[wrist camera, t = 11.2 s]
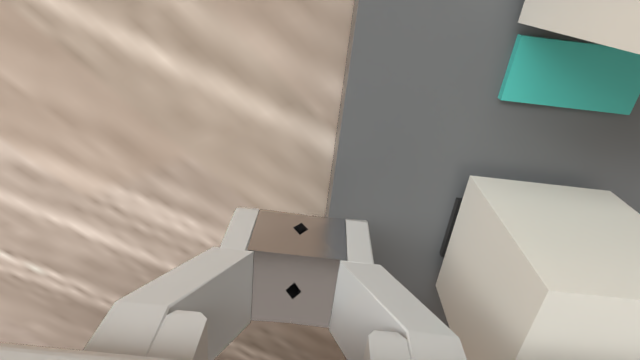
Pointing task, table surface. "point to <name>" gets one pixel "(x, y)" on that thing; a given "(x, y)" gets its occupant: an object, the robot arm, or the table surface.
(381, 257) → the switch panel
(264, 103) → the table surface
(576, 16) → the tab
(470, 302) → the tab
